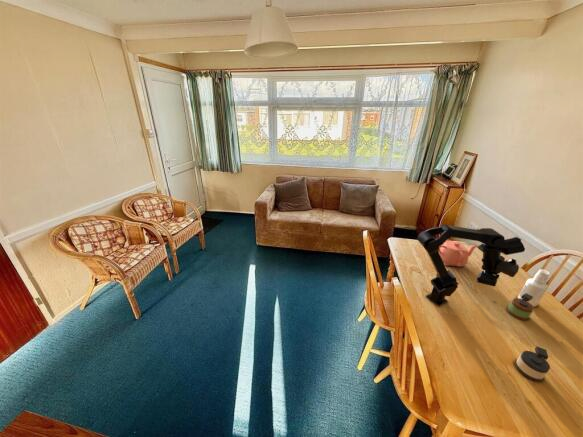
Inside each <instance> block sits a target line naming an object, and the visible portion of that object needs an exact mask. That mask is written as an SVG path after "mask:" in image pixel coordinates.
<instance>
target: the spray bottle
mask: <svg viewBox="0 0 583 437" xmlns="http://www.w3.org/2000/svg"><path fill="white" fill-rule="evenodd" d="M550 274H551V272H550V271H548V270H546V269H542V268H539V270H538V271H537V272H536V273H535V275H534V276H533V277H532V278H528V279H527V280H526V282H525V283H524V285H523V287H522V289H521V291H520V292H519V294H518V296H517V298H519V299H523V298H521V297H522V295H524V294H526V293H527V294H529V295H531V296H533V298H532V299H531V300H530V301H527V302H529V303H530V304H531V305H532V306H533V307H537V306H538V304H539V303H540V301H541V300H542V298H543V297H544V295H545V293H546V292H547V290H548V287H549V286H548V285H547V281H548V279H549V276H550Z"/></svg>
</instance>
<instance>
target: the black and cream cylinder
mask: <svg viewBox="0 0 583 437" xmlns="http://www.w3.org/2000/svg"><path fill="white" fill-rule="evenodd" d="M545 361H546V363H543V362H542V359H541V358H538V357H537V356H536V352H534V351H531V350H524V351H522V352H521V353H520V355H519V356H518V358H517V360H516V362H515V364H514V366H515V368H516V370H517V371H518V372H519V373H520V374H521V375H522V376H523V377H525V378H527V379H529V380H531V381H534V382H540V381H542V380H543V379H544V377H545V376H546V375H547V374H548V373H549V371H550V370H551V366H550V363H549V361H547V360H545Z"/></svg>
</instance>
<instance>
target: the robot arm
mask: <svg viewBox="0 0 583 437" xmlns="http://www.w3.org/2000/svg"><path fill="white" fill-rule="evenodd" d="M437 235H440V236H439V237H437V238H435V237H434V236H437ZM416 238H417V241H418V242H419V243H420V245H421V246H422V247H423V248H424V250H425V251H426V253H427V255H428V257H429V258H430V261H431V264H432V266H433V267H434V269H435V271H436V274H435V275H436V277H434V278H432V279H431V280H430V284H431V285H432V290H431V293H430V294H428V295H426V298H427V299H428V300H430V301H431V302H432V303H434V304H435V305H436V306H442V305H444V304H445V303H447V302H448V300H447V299H446V297H451V296H452V295H453V293H454V292H456V290H457V289H458V288H459V282H458V281H457V277H456V276H455V275H454V274H453V273H452V272H451V271H450V269H447V266H446V265H445V264H444V262H443V261H442V258H441V256H440V254H439V246H441V245H443V244H444V243H445V242H446V241H447V239H449V240H450V238H455V239H463V240H468V241H476V242H479V243H481V244H478V245H479V246H477V247H476V248H477V249H478V250H479V251H481V252H482V258H481V262H482V265H481V272H479V273H478V274H477V276H476V282H477V283H478V284H482V285H486V286H491V287H496V286H497V283H498V279H499V278H500V274H504V275H506V276H509V277H510V278H514V277H515V276H516V275H517V274H518V272H519V269H520V266H519V264H518V263H517V259H515V258H510V259H507V260H506V258H505V257H504V256H510V255H514V254H519V253H524V252H525V250H526V247H525V246H524V243H523V242H522V238H520V237H518V236H514V237H512V238H507V239H506V238H505V236H504V235H503V234H501V233H500V232H498V231H497V230H495V229H494V228H491V227H482V228H479V229H475V228H468V227H462V226H456V225H449V224H446V223H445V224H442V225H440V226H438V227H437V226H436V227H432V228H429V229H426V230H425V231H421V232H420V233H419V234H418V235H417V237H416ZM502 254H503V255H504V256H503V255H502Z"/></svg>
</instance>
